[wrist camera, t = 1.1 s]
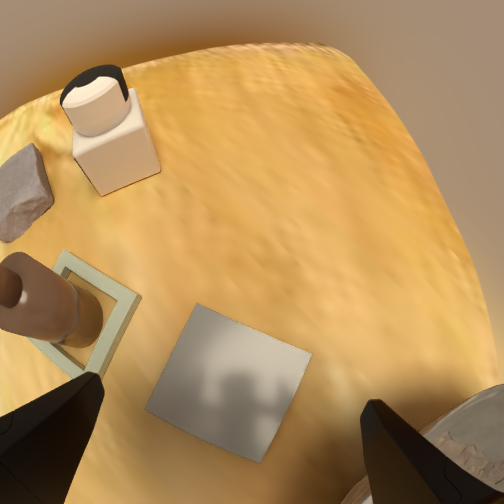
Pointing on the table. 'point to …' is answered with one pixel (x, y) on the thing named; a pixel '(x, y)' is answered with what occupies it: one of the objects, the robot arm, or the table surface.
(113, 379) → the table surface
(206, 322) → the slate pad
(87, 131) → the medicine bottle
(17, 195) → the stone block
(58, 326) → the sauce bottle
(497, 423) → the ceramic bowl
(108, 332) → the pocket frame
